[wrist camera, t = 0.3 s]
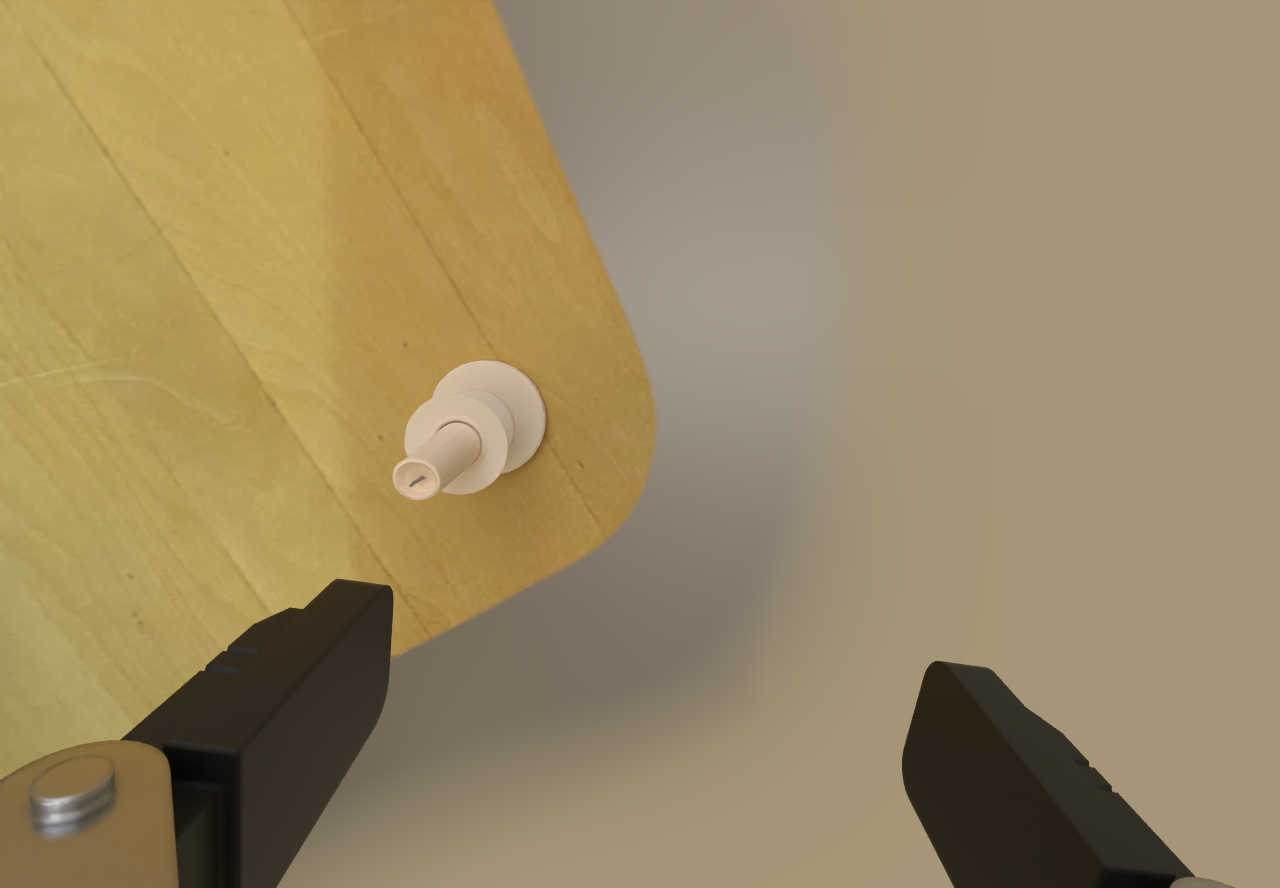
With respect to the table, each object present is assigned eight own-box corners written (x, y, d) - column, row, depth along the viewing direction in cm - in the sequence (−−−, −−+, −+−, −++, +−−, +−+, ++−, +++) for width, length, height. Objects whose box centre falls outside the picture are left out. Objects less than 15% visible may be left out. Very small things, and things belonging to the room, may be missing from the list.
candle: (563, 452, 30) (521, 537, 20) (457, 486, 31) (364, 586, 20) (522, 343, 29) (456, 375, 19) (413, 380, 29) (292, 431, 19)
